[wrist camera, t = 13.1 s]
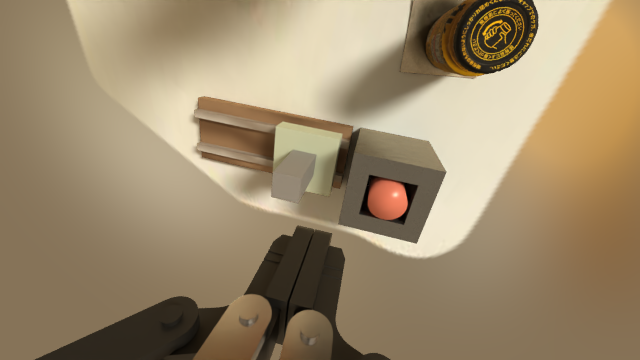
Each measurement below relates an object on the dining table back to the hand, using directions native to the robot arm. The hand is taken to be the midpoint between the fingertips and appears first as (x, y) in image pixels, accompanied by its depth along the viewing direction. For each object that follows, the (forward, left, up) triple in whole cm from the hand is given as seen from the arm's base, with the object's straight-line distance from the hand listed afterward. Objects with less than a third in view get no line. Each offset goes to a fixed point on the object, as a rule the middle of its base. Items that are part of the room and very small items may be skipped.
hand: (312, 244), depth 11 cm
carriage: (+6, -5, -23) cm, 25 cm away
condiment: (-10, +8, -26) cm, 29 cm away
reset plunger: (+6, +5, -21) cm, 23 cm away
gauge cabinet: (+6, +5, -26) cm, 27 cm away
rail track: (+6, -11, -26) cm, 29 cm away
